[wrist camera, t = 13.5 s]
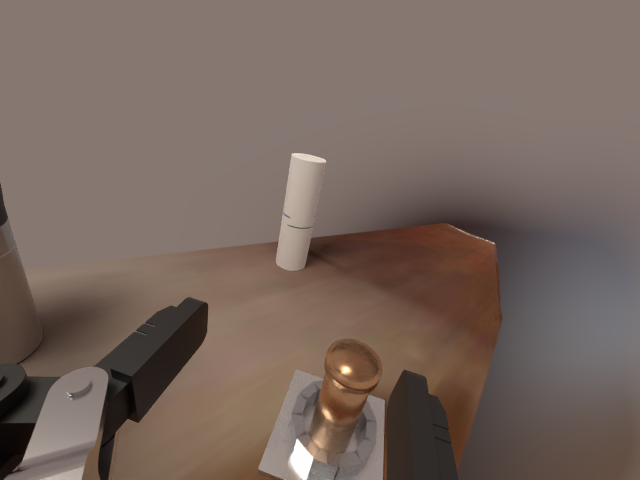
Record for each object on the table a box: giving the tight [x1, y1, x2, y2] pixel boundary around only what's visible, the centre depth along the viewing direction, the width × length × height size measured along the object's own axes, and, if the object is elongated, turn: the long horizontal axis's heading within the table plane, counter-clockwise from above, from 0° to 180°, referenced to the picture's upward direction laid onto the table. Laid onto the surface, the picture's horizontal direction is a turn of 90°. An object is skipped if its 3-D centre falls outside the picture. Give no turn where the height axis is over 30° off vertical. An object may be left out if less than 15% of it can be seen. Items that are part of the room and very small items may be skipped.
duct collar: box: [258, 369, 385, 480], centre depth 34 cm, size 13×13×3 cm
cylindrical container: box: [276, 153, 326, 271], centre depth 63 cm, size 7×7×25 cm
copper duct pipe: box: [310, 339, 382, 453], centre depth 31 cm, size 6×6×12 cm
